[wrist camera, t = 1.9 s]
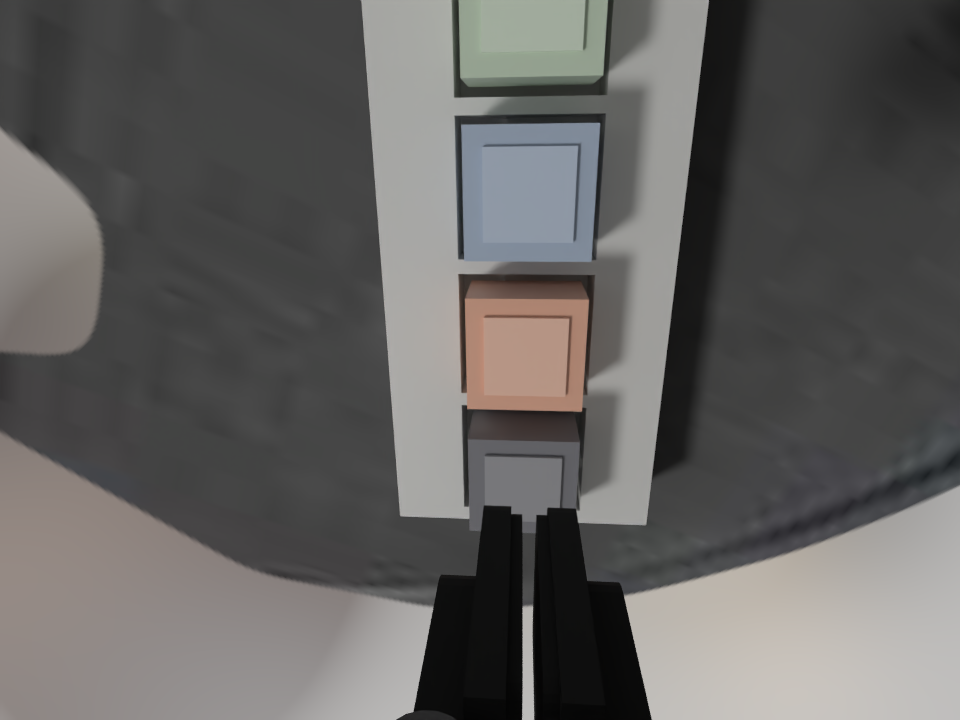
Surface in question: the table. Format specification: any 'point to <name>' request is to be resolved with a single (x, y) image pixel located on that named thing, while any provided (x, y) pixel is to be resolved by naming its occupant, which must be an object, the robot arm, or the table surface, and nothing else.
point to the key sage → (532, 42)
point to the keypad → (606, 279)
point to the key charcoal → (522, 463)
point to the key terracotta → (526, 345)
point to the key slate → (529, 191)
